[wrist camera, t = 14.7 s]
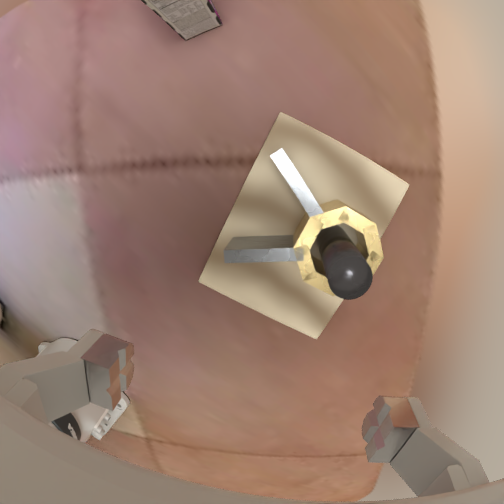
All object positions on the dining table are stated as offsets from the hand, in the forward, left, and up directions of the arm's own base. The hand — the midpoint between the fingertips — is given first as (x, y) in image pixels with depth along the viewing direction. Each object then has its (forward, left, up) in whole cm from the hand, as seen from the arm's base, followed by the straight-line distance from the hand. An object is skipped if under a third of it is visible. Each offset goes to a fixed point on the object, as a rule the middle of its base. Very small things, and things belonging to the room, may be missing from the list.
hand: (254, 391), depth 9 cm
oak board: (+1, -2, -25) cm, 25 cm away
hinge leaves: (+2, -2, -24) cm, 24 cm away
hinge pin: (+2, -5, -24) cm, 24 cm away
